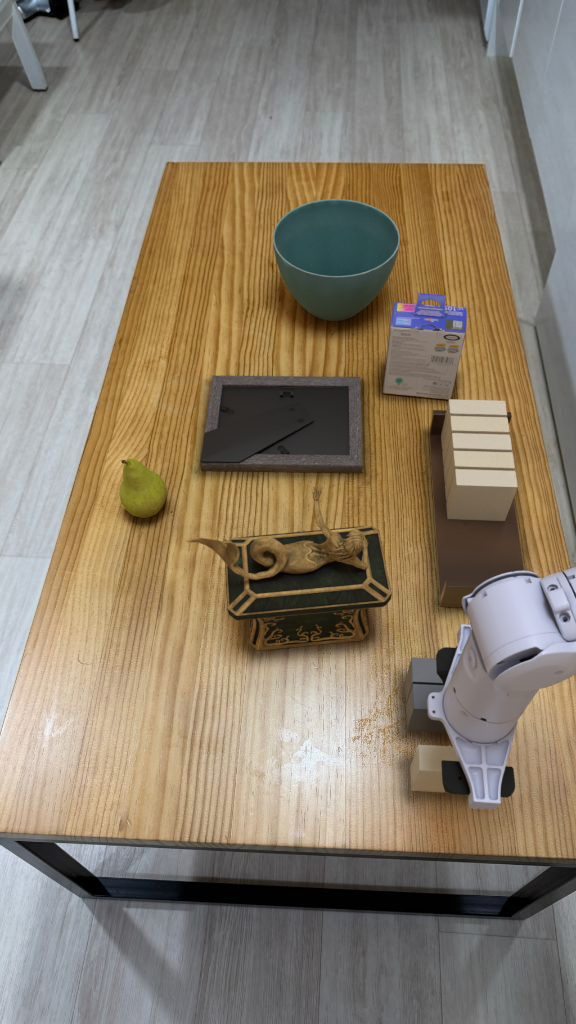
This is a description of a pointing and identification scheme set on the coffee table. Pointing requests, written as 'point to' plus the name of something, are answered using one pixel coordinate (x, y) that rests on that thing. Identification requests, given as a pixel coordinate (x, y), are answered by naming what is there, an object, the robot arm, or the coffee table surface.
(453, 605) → the book rack
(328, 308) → the teal bowl
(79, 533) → the coffee table surface
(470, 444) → the cream books
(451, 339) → the ink cartridge box
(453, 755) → the cream book
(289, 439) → the picture frame
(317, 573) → the decorative box
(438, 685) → the grey books
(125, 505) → the fruit
